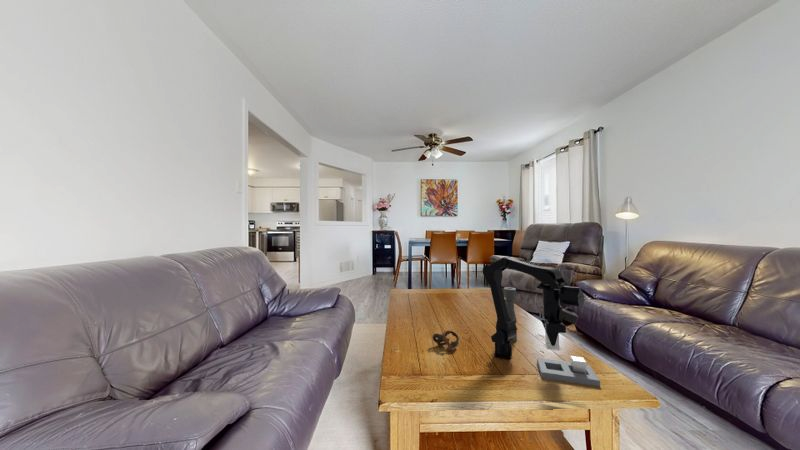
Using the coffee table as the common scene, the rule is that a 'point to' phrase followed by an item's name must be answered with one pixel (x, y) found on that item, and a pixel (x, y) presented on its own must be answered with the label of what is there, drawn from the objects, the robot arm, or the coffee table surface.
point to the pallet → (566, 372)
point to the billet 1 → (550, 343)
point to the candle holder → (510, 304)
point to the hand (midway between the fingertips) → (552, 343)
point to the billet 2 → (578, 365)
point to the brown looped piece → (446, 339)
